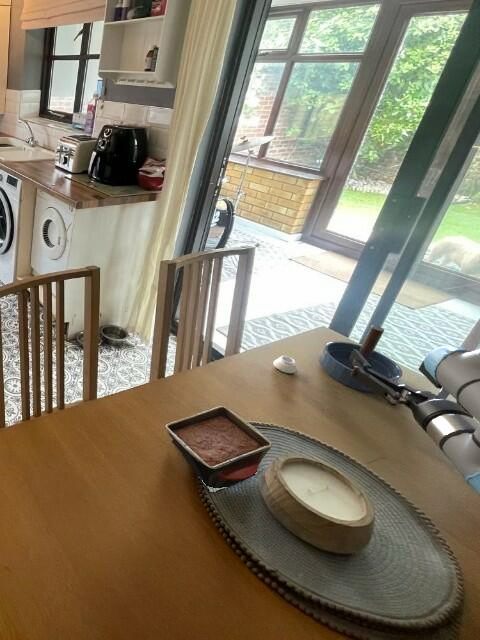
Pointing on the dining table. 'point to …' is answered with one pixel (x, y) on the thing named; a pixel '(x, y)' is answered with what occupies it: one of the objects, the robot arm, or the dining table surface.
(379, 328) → the stirring stick
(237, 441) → the baking dish
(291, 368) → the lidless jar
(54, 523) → the dining table surface
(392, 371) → the bowl
